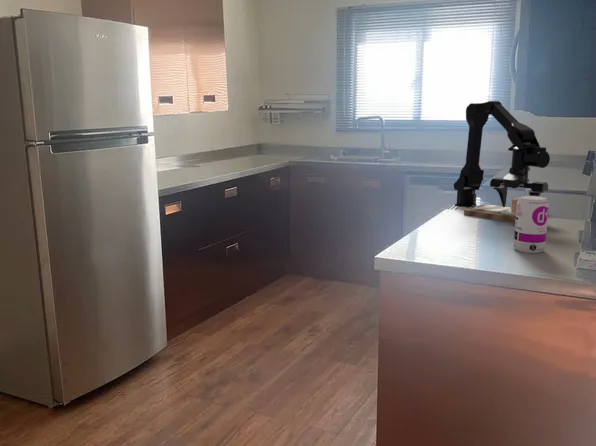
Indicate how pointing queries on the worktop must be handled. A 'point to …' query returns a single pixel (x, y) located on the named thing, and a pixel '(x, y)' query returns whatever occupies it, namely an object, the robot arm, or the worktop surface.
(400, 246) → the worktop surface
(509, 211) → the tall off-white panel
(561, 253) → the worktop surface
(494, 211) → the tan backing board
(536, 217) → the supplement can
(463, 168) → the robot arm
